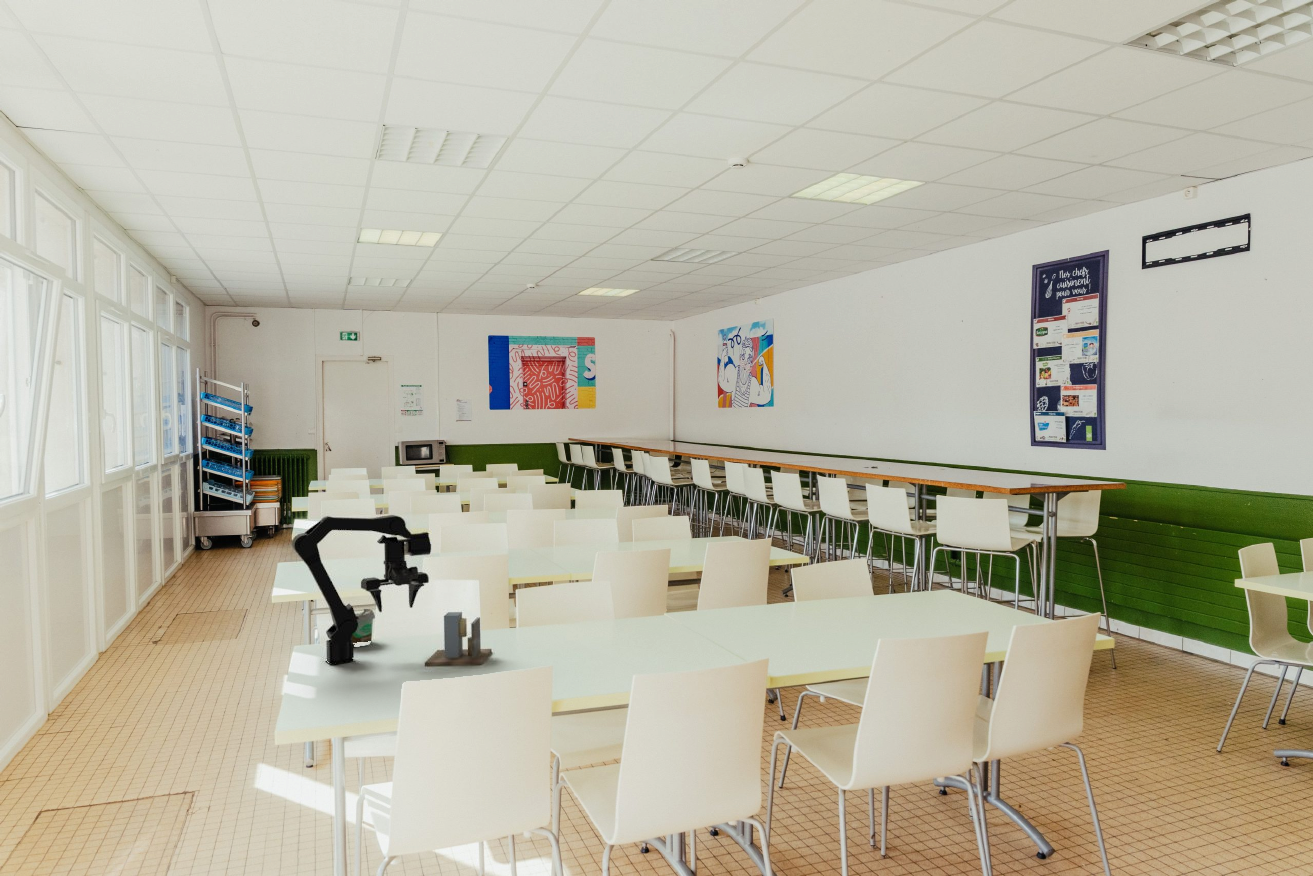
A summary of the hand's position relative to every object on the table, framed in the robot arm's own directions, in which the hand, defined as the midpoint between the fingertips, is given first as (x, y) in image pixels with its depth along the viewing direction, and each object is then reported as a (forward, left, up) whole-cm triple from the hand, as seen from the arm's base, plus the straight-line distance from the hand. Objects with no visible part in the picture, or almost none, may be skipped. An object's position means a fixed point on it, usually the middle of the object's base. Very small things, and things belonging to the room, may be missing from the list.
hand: (395, 609), depth 244 cm
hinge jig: (+12, -19, -13) cm, 26 cm away
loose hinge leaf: (+10, -18, -12) cm, 24 cm away
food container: (-4, +18, -13) cm, 23 cm away
